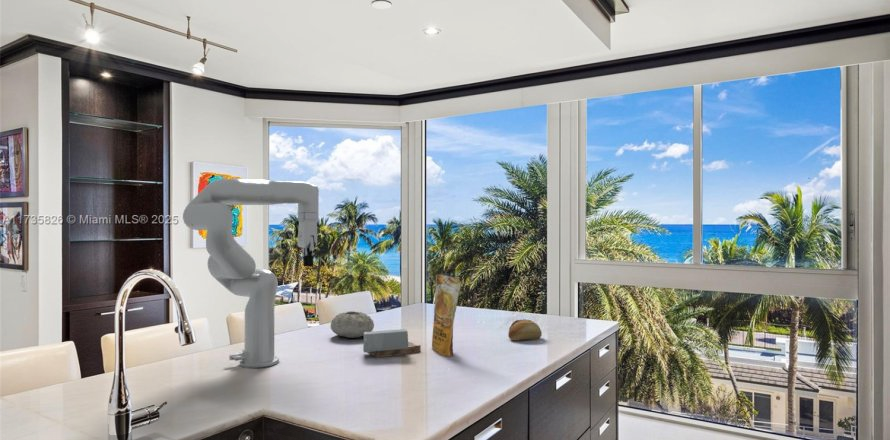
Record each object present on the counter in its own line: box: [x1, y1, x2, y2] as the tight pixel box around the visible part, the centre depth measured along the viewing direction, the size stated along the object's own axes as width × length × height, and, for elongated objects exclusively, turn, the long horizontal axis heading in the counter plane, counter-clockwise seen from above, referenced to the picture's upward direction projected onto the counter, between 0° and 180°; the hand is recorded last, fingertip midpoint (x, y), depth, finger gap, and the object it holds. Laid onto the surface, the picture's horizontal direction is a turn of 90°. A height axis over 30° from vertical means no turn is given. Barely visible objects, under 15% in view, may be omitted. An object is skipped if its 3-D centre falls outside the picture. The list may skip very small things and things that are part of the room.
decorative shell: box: [330, 310, 375, 339], centre depth 218 cm, size 18×18×10 cm
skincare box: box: [362, 328, 409, 353], centre depth 188 cm, size 8×7×16 cm
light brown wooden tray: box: [368, 341, 422, 358], centre depth 194 cm, size 17×13×2 cm
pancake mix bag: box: [431, 273, 462, 358], centre depth 193 cm, size 7×19×28 cm, turn 22°
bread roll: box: [507, 319, 542, 341], centre depth 214 cm, size 10×15×8 cm, turn 115°
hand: (308, 266), depth 197 cm, fingers closed
